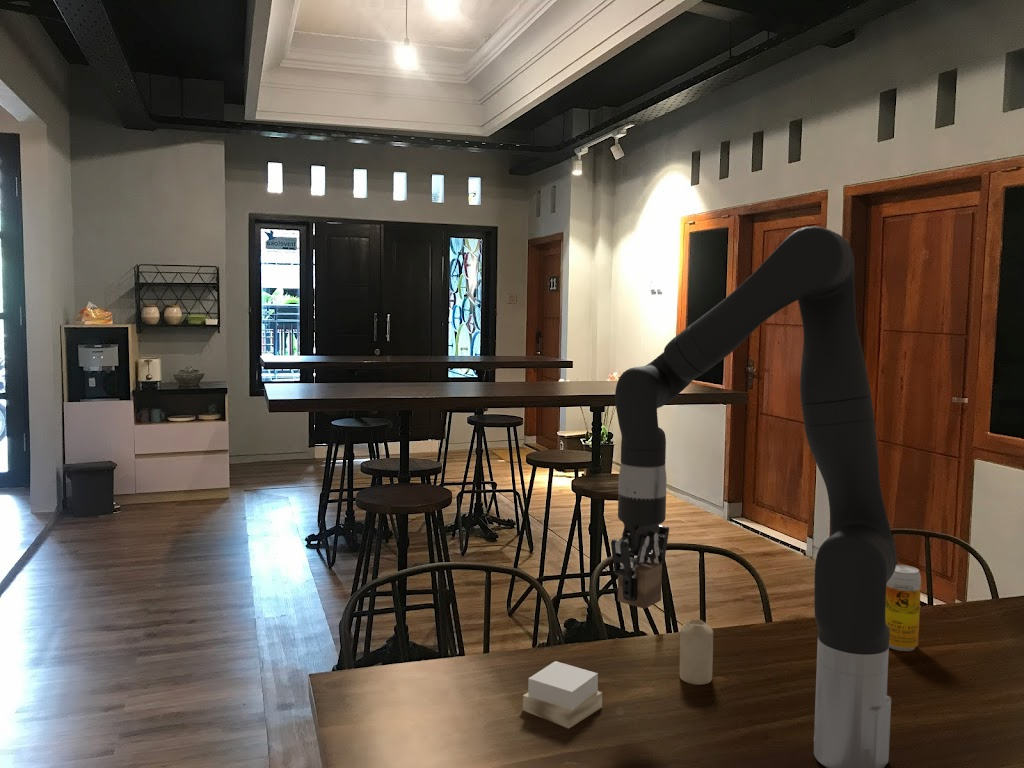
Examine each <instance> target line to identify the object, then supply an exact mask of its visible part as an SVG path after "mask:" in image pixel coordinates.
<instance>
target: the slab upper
mask: <svg viewBox="0 0 1024 768" xmlns="http://www.w3.org/2000/svg"><path fill="white" fill-rule="evenodd" d="M598 677H599V673H598V672H594V671H590V670H588V669H584V668H580V667H577V666H574V665H571V664H567V663H563V662H559V661H556V660H555V661H554V662H551V663H550V664H549V665H547V666H545V667H544V668H542V669H541V670H539V671H538V672H536V673H535V674H533V675H532V676H530V677H528V686H527V687H528V691H527V693H528V697H531V698H534V699H537V700H540V701H543V702H546V703H549V704H552V705H555V706H558V707H561V708H565V709H568V710H571V711H572V710H574V709H575V708H576V707H578V706H579V705H580V704H582V703H583V702H584V701H586V700H587V699H588V698H590V697H591V696H592V695H593V694H595V693H596V692H597V691H599V690H598V689H599V687H598V686H599V685H598V684H599V680H598V679H599V678H598Z"/></svg>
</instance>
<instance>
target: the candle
mask: <svg viewBox="0 0 1024 768" xmlns="http://www.w3.org/2000/svg"><path fill="white" fill-rule="evenodd" d="M679 635H680V639H679V678H680V680H682V681H683V682H684V683H688V684H690V685H695V686H696V685H697V686H700V685H706V684H707V685H708V684H709V683H711V682H712V679H713V662H714V661H713V656H714V654H713V653H714V630H713V628H711V627H710V626H709V625H708V624H707V623H706V622H705V621H703V620H702V619H697V618H696V619H691V620H689V621H687V622H686V623H685V624H684V625H682V626H681V627H680V632H679Z"/></svg>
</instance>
